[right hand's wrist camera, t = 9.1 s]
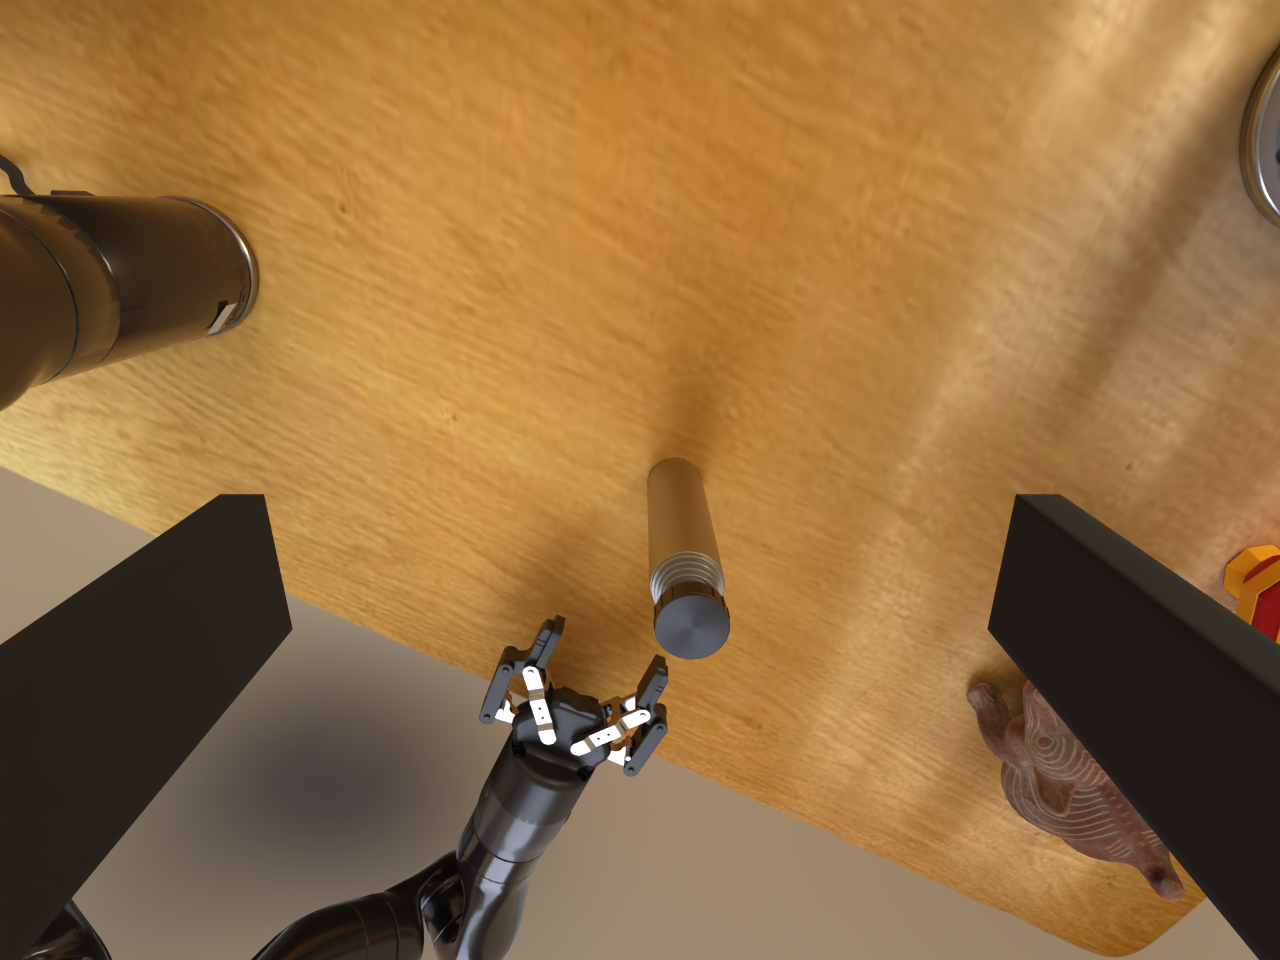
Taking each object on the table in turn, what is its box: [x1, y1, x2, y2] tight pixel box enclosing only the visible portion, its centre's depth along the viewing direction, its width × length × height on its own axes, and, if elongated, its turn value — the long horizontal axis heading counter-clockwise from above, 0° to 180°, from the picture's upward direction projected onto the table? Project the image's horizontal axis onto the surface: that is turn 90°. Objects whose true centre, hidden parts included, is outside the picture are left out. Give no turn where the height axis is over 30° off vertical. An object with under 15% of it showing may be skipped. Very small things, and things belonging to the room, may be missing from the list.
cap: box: [654, 581, 730, 659], centre depth 37 cm, size 4×4×2 cm
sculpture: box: [967, 679, 1184, 901], centre depth 56 cm, size 14×25×15 cm, turn 40°
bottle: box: [647, 458, 725, 604], centre depth 46 cm, size 4×4×20 cm
